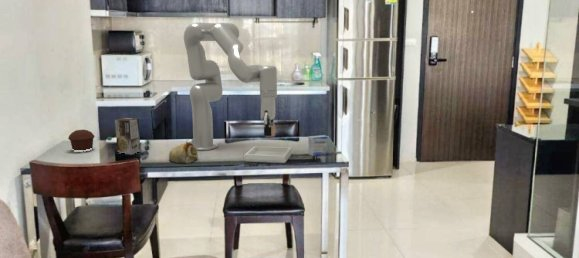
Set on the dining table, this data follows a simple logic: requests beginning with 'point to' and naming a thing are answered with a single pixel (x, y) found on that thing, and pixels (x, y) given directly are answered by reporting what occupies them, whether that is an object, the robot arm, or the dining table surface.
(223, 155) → the dining table surface
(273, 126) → the shaker
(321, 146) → the medicine box
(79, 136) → the muffin
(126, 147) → the coffee box
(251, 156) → the tray
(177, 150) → the pastry
